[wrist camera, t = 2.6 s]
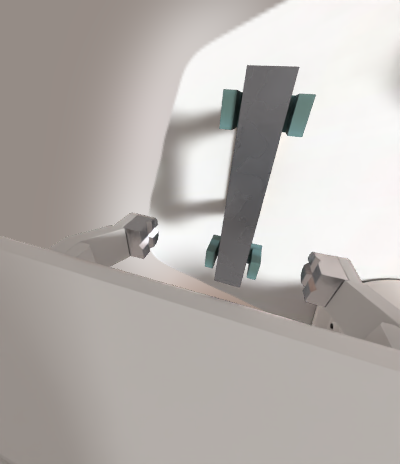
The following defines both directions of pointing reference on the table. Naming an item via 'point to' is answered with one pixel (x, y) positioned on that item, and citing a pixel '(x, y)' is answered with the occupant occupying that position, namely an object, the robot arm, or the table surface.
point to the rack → (292, 127)
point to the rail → (252, 163)
